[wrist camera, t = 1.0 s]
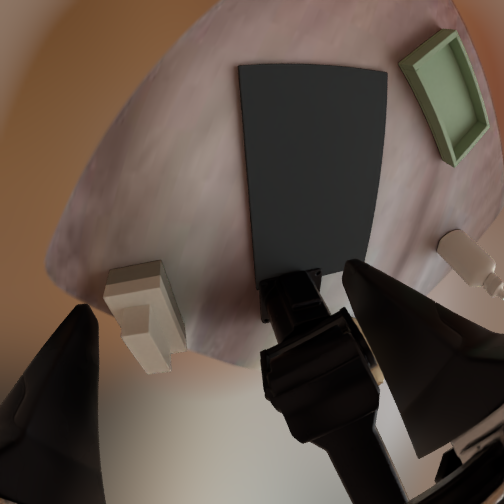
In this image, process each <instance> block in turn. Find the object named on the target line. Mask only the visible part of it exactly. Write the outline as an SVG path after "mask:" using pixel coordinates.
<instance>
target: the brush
mask: <svg viewBox="0 0 504 504" xmlns="http://www.w3.org/2000/svg"><path fill="white" fill-rule="evenodd" d="M103 298H104V300H105V302H106V304H107V305H108V307H109V309H110V310H111V312H112V314H113V316H114V317H115V319H116V321H117V322H118V324H119V325H120V327H121V338H122V339H123V341H124V342H125V344H126V345H127V347H128V348H129V350H130V351H131V353H132V354H133V356H134V357H135V358H136V360H137V361H138V362H139V364H140V365H141V367H142V368H143V369H144V371H145V372H146V373H147V374H155V373H163V372H171V354H173V353H179V352H185V351H187V346H186V334H185V324H184V322H183V319H182V317H181V314H180V311H179V309H178V306H177V303H176V301H175V298H174V295H173V293H172V290H171V287H170V284H169V281H168V278H167V276H166V273H165V270H164V267H163V264H162V261H161V260H158V261H153V262H148V263H143V264H138V265H133V266H128V267H123V268H118V269H113V270H110V271H109V275H108V279H107V283H106V287H105V291H104V296H103Z"/></svg>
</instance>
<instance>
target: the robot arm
mask: <svg viewBox="0 0 504 504" xmlns="http://www.w3.org/2000/svg"><path fill="white" fill-rule="evenodd" d="M317 271H319V273H317V274H315V273H316V272H317ZM321 278H322V270H321V268H315V269H311V270H306V271H304V270H303V271H299V272H294V273H290V274H285V275H281V276H279V277H274V278H269V279H264V280H262V281H260V283H259V296H260V310H261V320H262V322H263V323H269V322H271V325H272V328H273V331H274V333H275V336H276V339H277V342H278V344H277V345H275V346H273V347H271V348H269V349H267V350H266V349H265V350H263V351H261V352H260V356H261V359H260V361H261V370H262V379H263V387H264V392H265V398H266V399H267V400H268V401H270V402H271V403H272V405H273V406H274V408H275V409H276V410H277V411H278V412H280V413H282V414H283V416H284V417H285V420H286V422H287V425H288V427H289V430H290V432H291V434H292V436H293V437H294V438H295V439H297V440H298V441H299V442H301V443H303V444H304V443H306V442H311V443H313V444H315V445H317V446H318V447H320V448H322V449H324V450H325V451H326V452H327V453H328V455H329V457H330V459H331V461H332V463H333V465H334V467H335V469H336V471H337V473H338V475H339V477H340V479H341V481H342V483H343V485H344V487H345V489H346V491H347V493H348V495H349V497H350V499H351V501H352V503H353V504H504V334H499V333H495V332H492V331H489V330H487V329H485V328H483V327H481V326H480V325H477V324H476V323H474V322H471V321H470V320H468V319H466V318H464V317H462V316H460V315H458V314H456V313H454V312H452V311H451V310H449V309H447V308H445V307H443V306H442V305H440V304H438V303H435V301H433V300H431V299H430V298H428V297H426V296H425V295H423V294H421V293H419V292H418V291H416V290H414V289H412V288H410V287H409V286H407V285H405V284H403V283H402V282H400V281H398V280H396V279H394V278H393V277H391V276H389V275H387V274H385V273H383V272H382V271H380V270H378V269H376V268H374V267H372V266H370V265H369V264H367V263H365V262H363V261H361V260H359V259H350V260H347V261H346V262H345V266H344V271H343V276H342V283H343V286H344V289H345V291H346V294H347V296H348V299H349V301H350V304H351V307H352V309H353V312H354V315H355V317H356V319H357V322H358V324H359V326H360V328H361V330H362V332H363V334H364V336H365V338H366V340H367V342H368V344H369V346H370V347H369V346H368V344H367V342H366V340H365V338H364V337H363V335H362V333H361V332H360V330H359V328H358V327H357V325H356V324H355V322H354V321H353V319H352V317H351V316H350V314H349V313H348V311H347V310H346V308H345V307H343V308H341V309H340V311H338V312H336V313H335V314H333V315H331V313H330V311H329V309H328V307H327V306H326V304H325V302H324V300H323V298H322V296H321V295H320V286H321ZM263 283H267V284H266V285H262V284H263ZM98 335H99V326H98V321H97V318H96V317H95V315H94V313H93V312H92V310H91V308H90V306H89V305H88V304H78V305H76V306H75V308H74V309H73V310H72V311H71V312H70V313H69V315H68V316H67V317H66V318H65V319H64V321H63V322H62V323H61V324H60V325H59V327H58V328H57V329H56V331H55V332H54V333H53V334H52V335H51V337H50V338H49V339H48V341H47V342H46V343H45V344H44V346H43V347H42V348H41V350H40V351H39V352H38V354H37V355H36V356H35V358H34V359H33V360H32V362H31V363H30V365H29V366H28V367H27V369H26V370H25V371H24V373H23V375H22V376H21V377H20V378H19V380H18V381H17V383H16V384H15V386H14V387H13V389H12V390H11V391H10V393H9V394H8V396H7V397H6V398H5V400H4V401H3V402H2V403H1V405H0V504H106V501H105V495H104V488H103V480H102V472H101V463H100V451H99V434H98V433H99V432H98V381H99V336H98ZM370 348H371V349H370ZM371 350H372V351H371ZM372 352H373V353H372ZM373 354H374V355H373ZM374 356H375V358H376V360H375V358H374ZM376 361H377V362H376ZM377 363H378V365H379V367H380V369H381V371H382V373H383V376H384V378H385V380H386V382H387V384H388V387H389V389H390V391H391V393H392V396H393V398H394V400H395V403H396V405H397V407H398V410H399V412H400V413H401V414H400V415H401V417H402V419H403V422H404V424H405V427H406V429H407V432H408V434H409V437H410V439H411V442H412V444H413V447H414V449H415V452H416V455H417V457H418V458H419V459H420V458H422V457H424V456H426V455H428V454H430V453H431V452H433V451H435V450H437V449H438V448H440V447H442V446H444V445H446V444H447V443H449V442H451V444H452V446H453V447H452V448H451V449H449V450H448V451H446V452H445V453H444V454H443V456H442V460H441V463H440V466H439V469H438V472H437V475H436V477H435V482H436V484H435V485H434V486H432V487H431V488H429V489H428V490H426V491H425V492H423V493H422V494H420V495H418V496H417V497H415V498H413V499H412V500H409V498H408V496H407V493H406V491H405V489H404V486H403V484H402V482H401V480H400V477H399V475H398V473H397V471H396V468H395V466H394V464H393V462H392V460H391V457H390V455H389V453H388V451H387V449H386V447H385V445H384V442H383V440H382V438H381V436H380V434H379V432H378V430H377V428H376V426H375V424H376V417H377V411H378V407H379V395H380V389H379V387H378V384H377V382H376V380H375V378H374V376H373V374H372V372H371V369H372V368H374V367H376V366H377Z"/></svg>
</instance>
